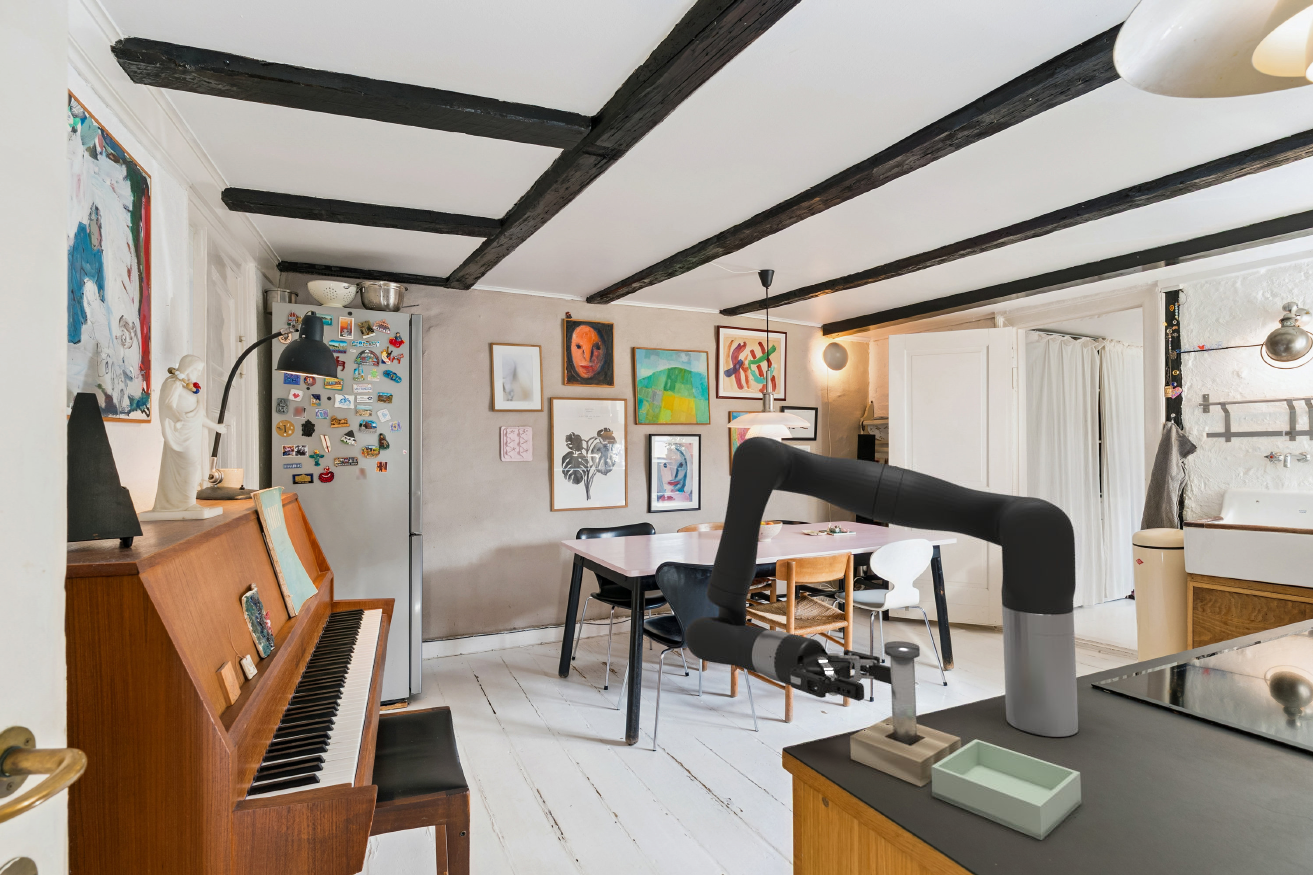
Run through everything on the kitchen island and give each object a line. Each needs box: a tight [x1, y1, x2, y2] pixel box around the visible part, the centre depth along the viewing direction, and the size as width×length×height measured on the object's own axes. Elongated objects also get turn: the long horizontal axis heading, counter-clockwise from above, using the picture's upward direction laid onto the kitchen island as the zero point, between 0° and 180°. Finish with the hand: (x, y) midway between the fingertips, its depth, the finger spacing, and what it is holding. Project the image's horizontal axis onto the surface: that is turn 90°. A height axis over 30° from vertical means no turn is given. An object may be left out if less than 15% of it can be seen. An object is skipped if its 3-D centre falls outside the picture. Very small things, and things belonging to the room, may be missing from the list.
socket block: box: [849, 715, 962, 788], centre depth 88 cm, size 10×10×3 cm
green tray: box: [931, 738, 1082, 841], centre depth 78 cm, size 11×12×4 cm
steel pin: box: [883, 640, 921, 746], centre depth 89 cm, size 4×4×15 cm
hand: (881, 684), depth 91 cm, fingers open, 8 cm apart
